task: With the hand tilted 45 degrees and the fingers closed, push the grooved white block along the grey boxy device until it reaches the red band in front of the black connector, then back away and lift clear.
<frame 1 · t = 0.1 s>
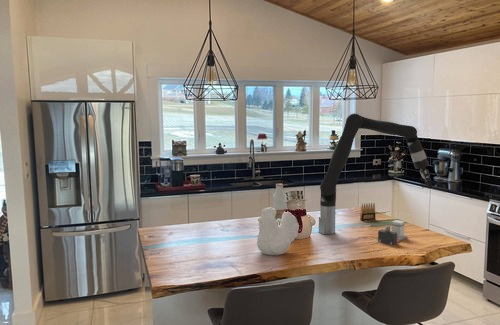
hand: (429, 185, 226), 31 cm above the kitchen island, tool tilted 20°, fingers open, 8 cm apart
ammunition clip: (367, 220, 272), on the kitchen island
grey boxy device: (394, 241, 226), on the kitchen island
white bottle: (279, 226, 259), on the kitchen island
grooved white block: (398, 229, 228), point 6 cm above the kitchen island, slide at 0.0 cm
decorative rooster: (279, 253, 209), on the kitchen island
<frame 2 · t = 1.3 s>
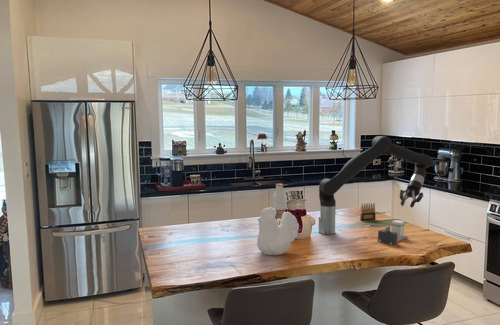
hand: (406, 206, 234), 18 cm above the kitchen island, tool tilted 45°, fingers open, 5 cm apart
nothing on the kitchen island moved.
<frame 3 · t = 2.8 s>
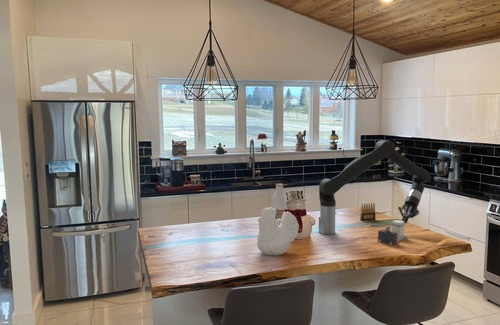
hand: (403, 222, 233), 9 cm above the kitchen island, tool tilted 45°, fingers closed
nothing on the kitchen island moved.
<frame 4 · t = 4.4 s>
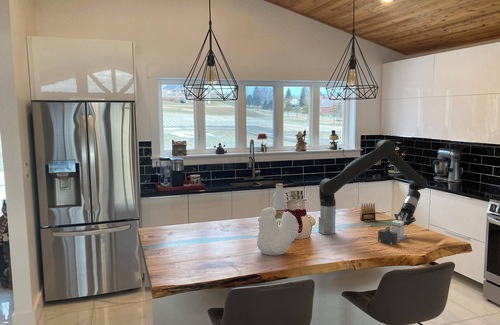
hand: (399, 229, 230), 5 cm above the kitchen island, tool tilted 45°, fingers closed
grooved white block: (397, 229, 228), point 6 cm above the kitchen island, slide at 0.5 cm, touching gripper
everything else where it was.
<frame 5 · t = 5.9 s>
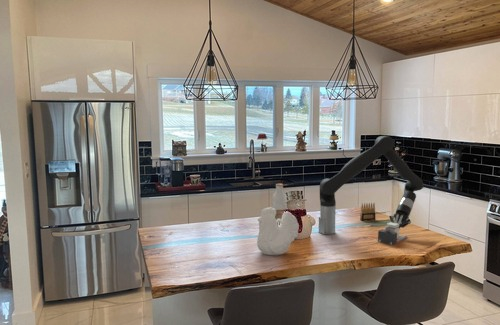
hand: (394, 232, 226), 5 cm above the kitchen island, tool tilted 45°, fingers closed
grooved white block: (392, 231, 223), point 6 cm above the kitchen island, slide at 6.9 cm, touching gripper
everything else where it was.
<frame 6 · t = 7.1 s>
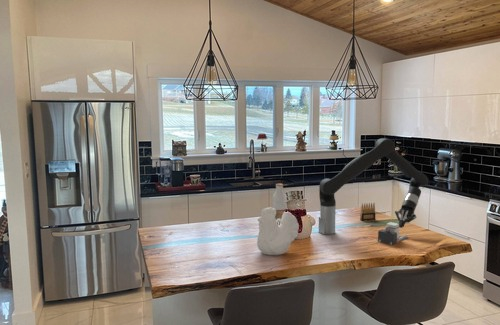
hand: (400, 227, 230), 7 cm above the kitchen island, tool tilted 45°, fingers closed
grooved white block: (392, 231, 223), point 6 cm above the kitchen island, slide at 6.9 cm
everything else where it was.
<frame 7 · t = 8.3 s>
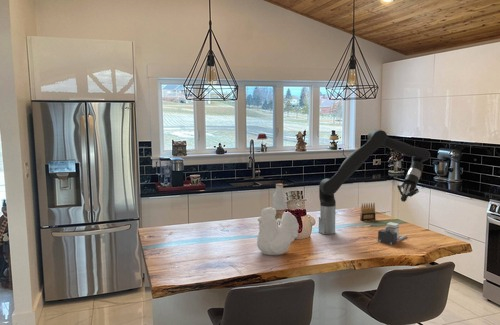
hand: (402, 200, 232), 22 cm above the kitchen island, tool tilted 45°, fingers closed
nothing on the kitchen island moved.
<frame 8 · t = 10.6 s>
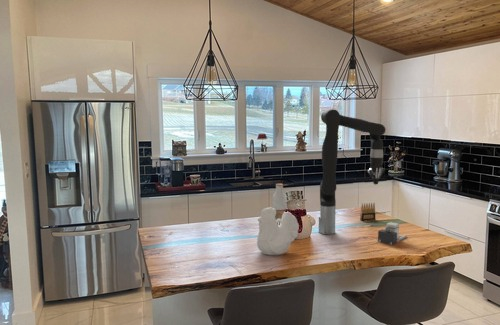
hand: (375, 184, 246), 29 cm above the kitchen island, tool pointing down, fingers closed
nothing on the kitchen island moved.
at the end: grooved white block slide at 6.9 cm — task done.
